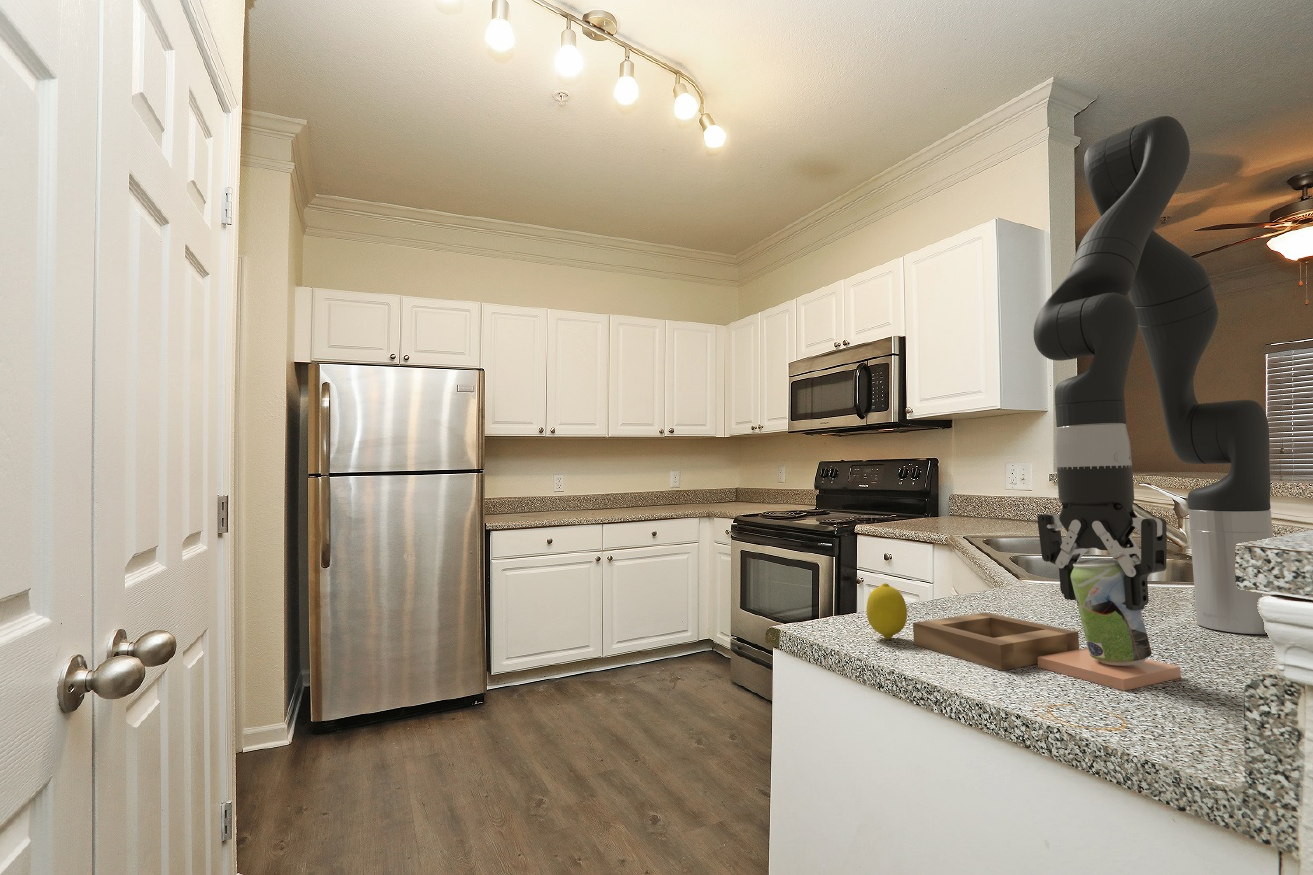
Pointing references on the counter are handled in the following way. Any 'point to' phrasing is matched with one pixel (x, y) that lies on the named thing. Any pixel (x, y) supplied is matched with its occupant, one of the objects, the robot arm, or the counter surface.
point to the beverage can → (1108, 614)
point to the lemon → (886, 610)
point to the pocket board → (994, 639)
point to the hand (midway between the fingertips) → (1102, 603)
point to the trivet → (1108, 670)
